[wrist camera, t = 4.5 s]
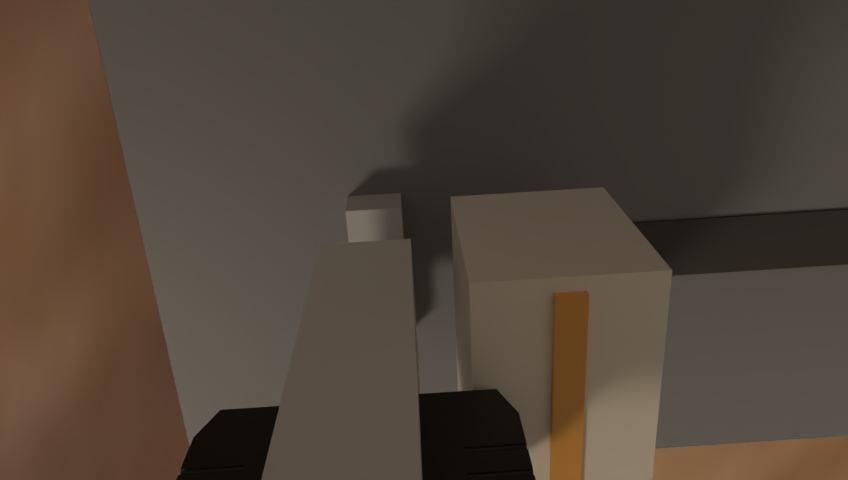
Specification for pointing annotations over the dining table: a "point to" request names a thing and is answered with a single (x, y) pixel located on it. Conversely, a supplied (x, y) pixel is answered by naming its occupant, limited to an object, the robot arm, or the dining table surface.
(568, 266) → the fader knob
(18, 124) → the dining table surface
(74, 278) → the dining table surface
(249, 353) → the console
